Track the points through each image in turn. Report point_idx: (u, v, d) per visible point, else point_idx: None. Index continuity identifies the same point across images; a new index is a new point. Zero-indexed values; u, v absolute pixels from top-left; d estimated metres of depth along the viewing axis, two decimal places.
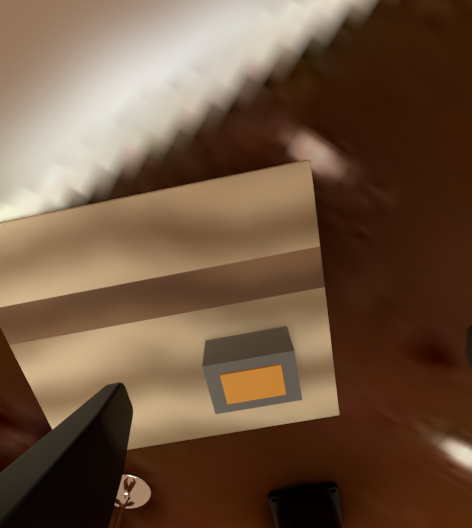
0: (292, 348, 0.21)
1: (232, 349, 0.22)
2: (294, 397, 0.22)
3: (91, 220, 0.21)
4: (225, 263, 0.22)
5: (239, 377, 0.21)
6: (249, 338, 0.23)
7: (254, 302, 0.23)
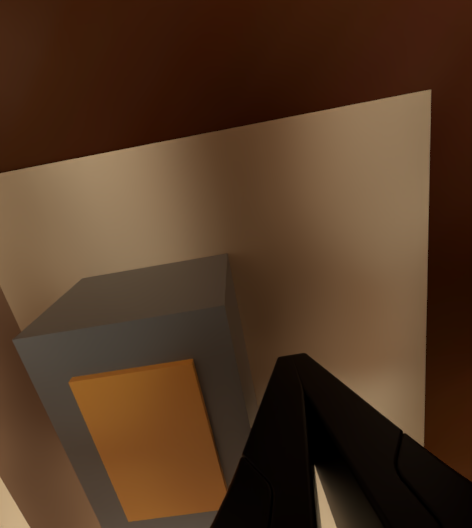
0: None
1: None
2: (213, 331, 0.06)
3: None
4: None
5: (137, 475, 0.07)
6: None
7: None
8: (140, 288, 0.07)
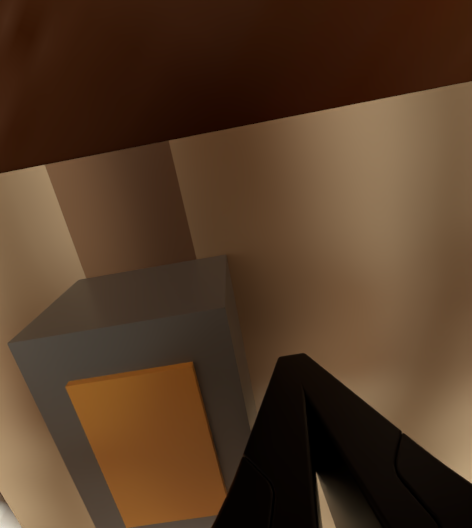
0: None
1: None
2: (214, 333, 0.06)
3: None
4: None
5: (135, 480, 0.07)
6: None
7: None
8: (138, 290, 0.07)
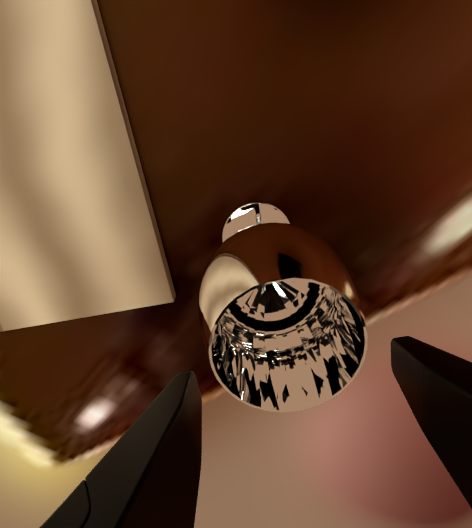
0: None
1: None
2: None
3: None
4: None
5: None
6: None
7: None
8: None
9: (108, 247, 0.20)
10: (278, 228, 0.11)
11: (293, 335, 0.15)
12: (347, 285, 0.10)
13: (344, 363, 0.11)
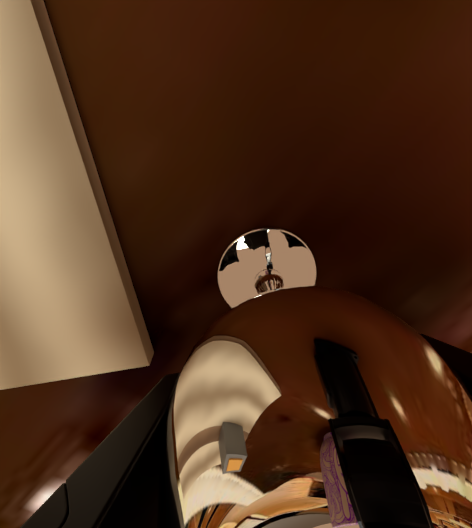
0: None
1: None
2: None
3: None
4: None
5: None
6: None
7: None
8: None
9: (53, 292, 0.14)
10: (329, 315, 0.05)
11: None
12: None
13: None
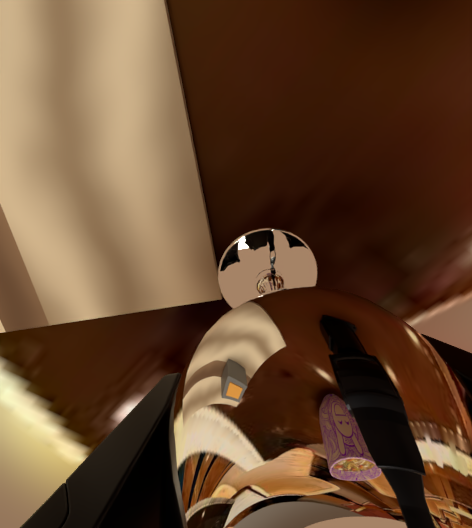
0: None
1: None
2: None
3: None
4: None
5: None
6: None
7: None
8: None
9: (161, 243, 0.20)
10: (330, 316, 0.05)
11: None
12: None
13: None
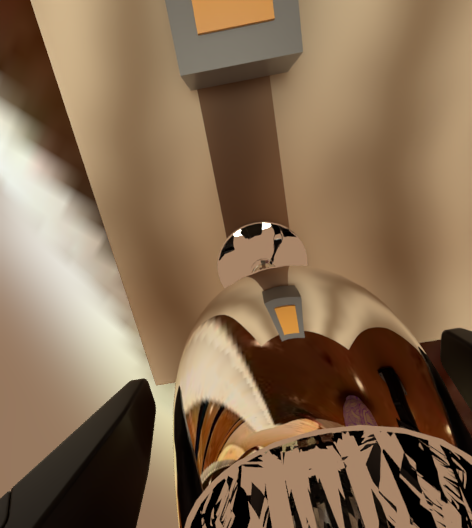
0: None
1: None
2: None
3: (125, 230, 0.15)
4: None
5: None
6: None
7: None
8: None
9: (469, 261, 0.16)
10: (308, 283, 0.07)
11: None
12: (457, 415, 0.05)
13: (428, 527, 0.06)
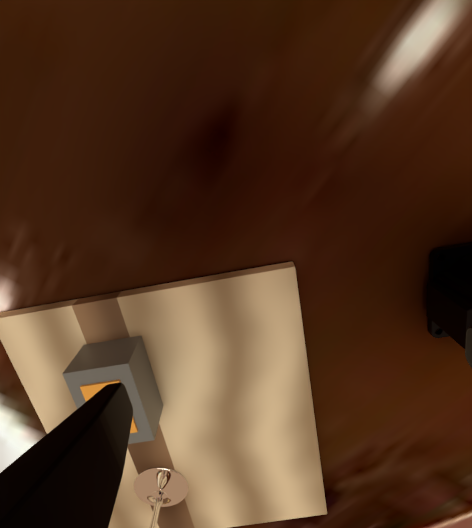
0: (64, 372, 0.20)
1: None
2: (125, 370, 0.19)
3: None
4: None
5: None
6: None
7: None
8: (104, 353, 0.21)
9: (286, 483, 0.27)
10: None
11: None
12: None
13: None
